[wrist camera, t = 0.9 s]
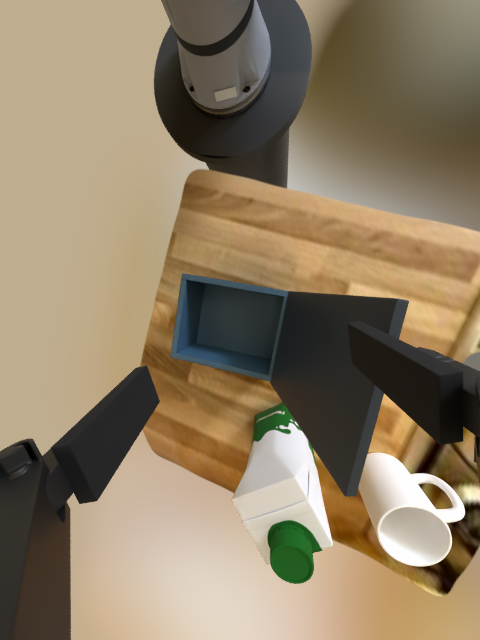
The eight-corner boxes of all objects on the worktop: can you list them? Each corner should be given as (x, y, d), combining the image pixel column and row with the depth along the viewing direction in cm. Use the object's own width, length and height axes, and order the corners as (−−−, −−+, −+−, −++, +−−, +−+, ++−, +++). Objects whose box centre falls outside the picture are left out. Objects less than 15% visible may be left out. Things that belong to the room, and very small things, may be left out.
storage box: (193, 345, 42) (170, 357, 33) (203, 278, 40) (181, 273, 32) (275, 363, 39) (272, 382, 31) (289, 293, 38) (291, 291, 29)
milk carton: (272, 454, 41) (262, 597, 21) (248, 411, 41) (216, 514, 21) (316, 437, 39) (349, 575, 19) (290, 392, 39) (298, 485, 20)
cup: (345, 456, 38) (367, 511, 28) (420, 440, 36) (473, 494, 26) (362, 500, 38) (390, 570, 29) (438, 487, 36) (497, 559, 26)
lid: (344, 496, 14) (356, 496, 14) (397, 298, 12) (409, 300, 12) (270, 382, 30) (275, 383, 30) (288, 291, 28) (294, 292, 29)
